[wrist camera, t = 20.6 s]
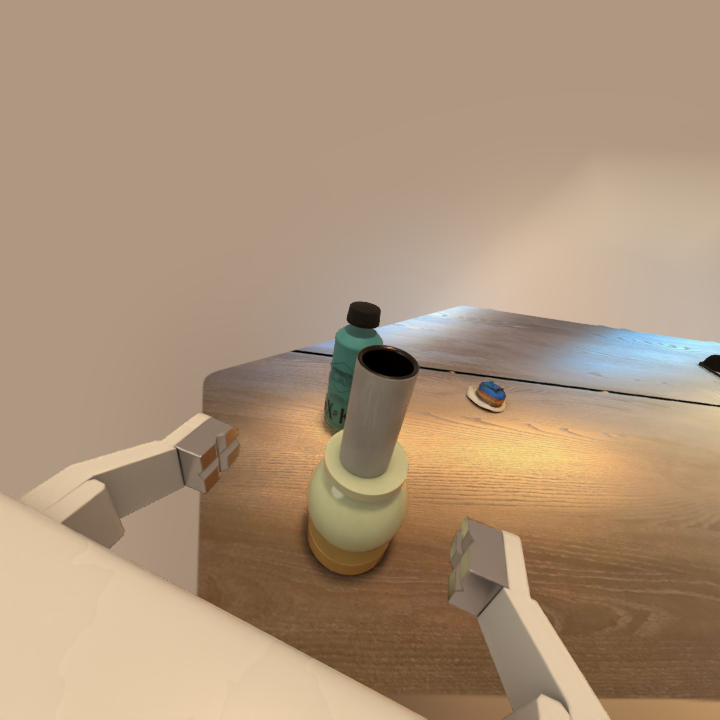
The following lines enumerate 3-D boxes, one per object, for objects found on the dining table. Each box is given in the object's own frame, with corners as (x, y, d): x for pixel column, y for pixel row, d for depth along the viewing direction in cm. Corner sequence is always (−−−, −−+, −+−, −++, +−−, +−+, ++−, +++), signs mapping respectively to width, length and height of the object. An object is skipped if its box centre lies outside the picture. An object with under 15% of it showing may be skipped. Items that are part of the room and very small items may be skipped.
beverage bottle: (329, 406, 49) (345, 291, 39) (367, 416, 49) (394, 302, 38) (316, 433, 44) (331, 308, 33) (359, 445, 43) (388, 321, 33)
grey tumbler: (339, 435, 28) (356, 340, 23) (386, 439, 29) (413, 348, 23) (338, 476, 24) (357, 374, 19) (392, 480, 25) (426, 382, 19)
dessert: (515, 413, 55) (507, 388, 52) (479, 424, 56) (470, 401, 54) (499, 390, 62) (491, 367, 60) (468, 401, 63) (459, 379, 61)
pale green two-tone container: (398, 583, 29) (433, 514, 23) (295, 578, 28) (303, 504, 22) (387, 491, 37) (411, 422, 31) (308, 485, 36) (317, 412, 30)
